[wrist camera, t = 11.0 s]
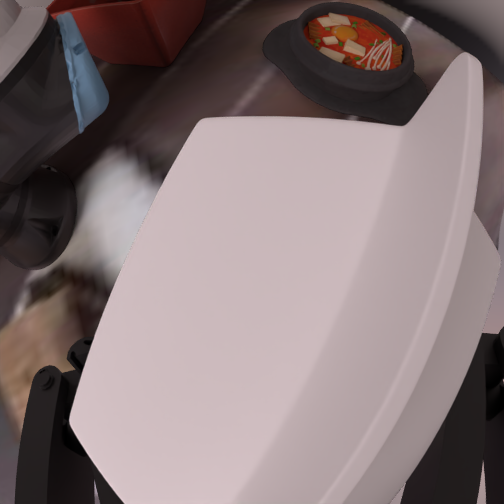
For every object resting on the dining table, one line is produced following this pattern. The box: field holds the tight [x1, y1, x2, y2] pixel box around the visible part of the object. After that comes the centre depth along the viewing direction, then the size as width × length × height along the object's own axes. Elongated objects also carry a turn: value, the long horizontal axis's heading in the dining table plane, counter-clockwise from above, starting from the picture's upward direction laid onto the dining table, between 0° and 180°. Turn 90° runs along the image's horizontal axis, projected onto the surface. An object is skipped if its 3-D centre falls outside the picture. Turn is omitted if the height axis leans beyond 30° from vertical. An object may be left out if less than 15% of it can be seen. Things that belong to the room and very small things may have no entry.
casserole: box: [262, 2, 428, 126], centre depth 33 cm, size 25×19×8 cm
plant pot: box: [46, 0, 206, 67], centre depth 32 cm, size 19×19×17 cm
